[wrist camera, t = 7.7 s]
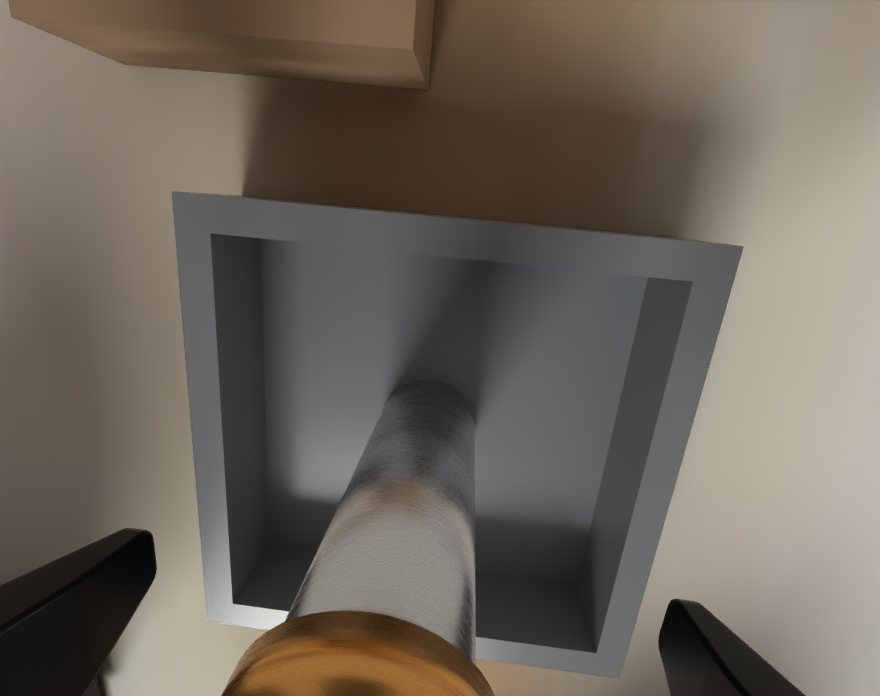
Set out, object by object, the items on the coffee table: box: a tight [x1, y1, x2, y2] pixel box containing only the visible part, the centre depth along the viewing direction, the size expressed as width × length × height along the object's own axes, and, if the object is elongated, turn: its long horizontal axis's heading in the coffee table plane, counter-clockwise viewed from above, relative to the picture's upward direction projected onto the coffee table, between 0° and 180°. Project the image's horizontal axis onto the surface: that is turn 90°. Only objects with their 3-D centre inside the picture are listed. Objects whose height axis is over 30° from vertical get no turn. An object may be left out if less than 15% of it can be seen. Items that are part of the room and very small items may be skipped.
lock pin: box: [221, 380, 494, 696], centre depth 9 cm, size 3×3×9 cm
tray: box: [172, 191, 743, 678], centre depth 13 cm, size 12×12×3 cm
